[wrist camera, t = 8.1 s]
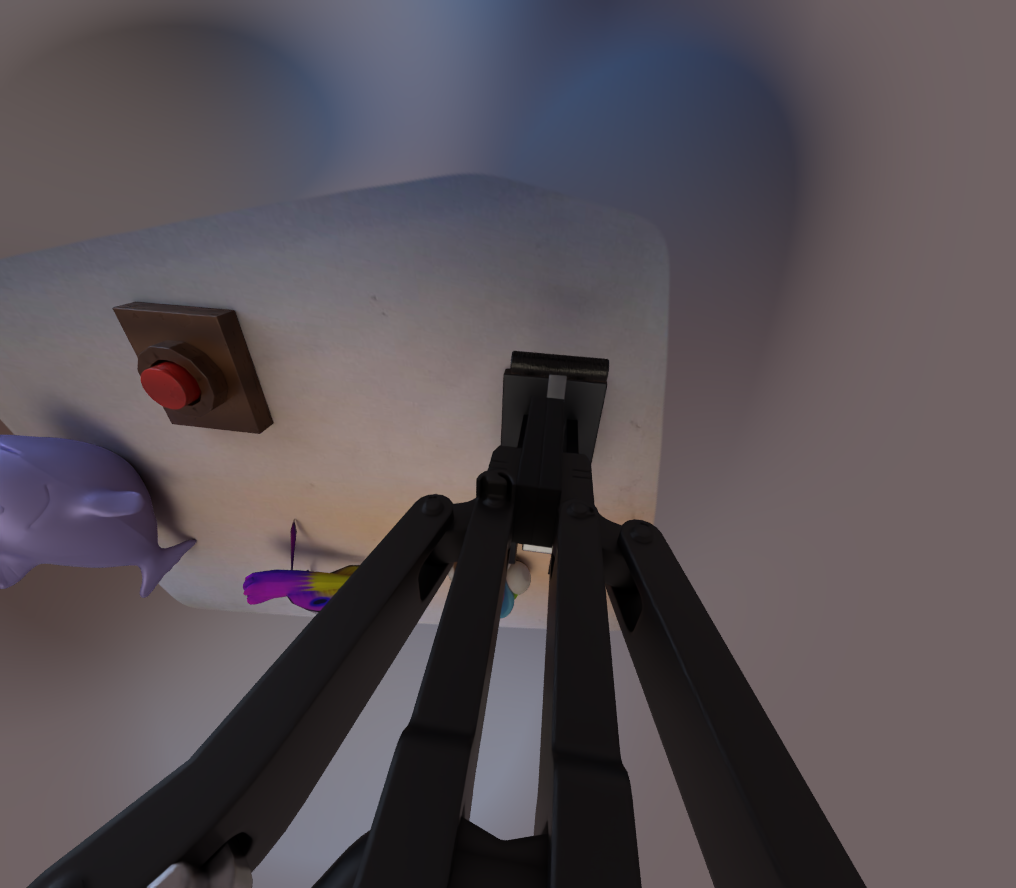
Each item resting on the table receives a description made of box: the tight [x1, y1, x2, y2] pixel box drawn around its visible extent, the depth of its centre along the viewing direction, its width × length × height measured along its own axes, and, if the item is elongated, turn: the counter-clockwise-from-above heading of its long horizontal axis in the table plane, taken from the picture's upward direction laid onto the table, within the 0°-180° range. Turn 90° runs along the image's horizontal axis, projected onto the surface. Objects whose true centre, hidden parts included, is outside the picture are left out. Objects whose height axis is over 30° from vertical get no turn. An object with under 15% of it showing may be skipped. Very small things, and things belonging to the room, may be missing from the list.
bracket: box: [501, 369, 607, 564], centre depth 31 cm, size 12×9×15 cm
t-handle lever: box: [511, 351, 609, 554], centre depth 26 cm, size 13×6×2 cm, turn 178°
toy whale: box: [0, 435, 196, 597], centre depth 45 cm, size 14×25×16 cm, turn 12°
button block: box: [113, 302, 273, 434], centre depth 37 cm, size 12×10×4 cm
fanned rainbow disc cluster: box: [448, 561, 531, 618], centre depth 46 cm, size 8×10×7 cm
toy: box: [243, 520, 360, 614], centre depth 50 cm, size 12×19×10 cm, turn 85°
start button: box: [141, 362, 201, 409], centre depth 35 cm, size 4×4×2 cm
